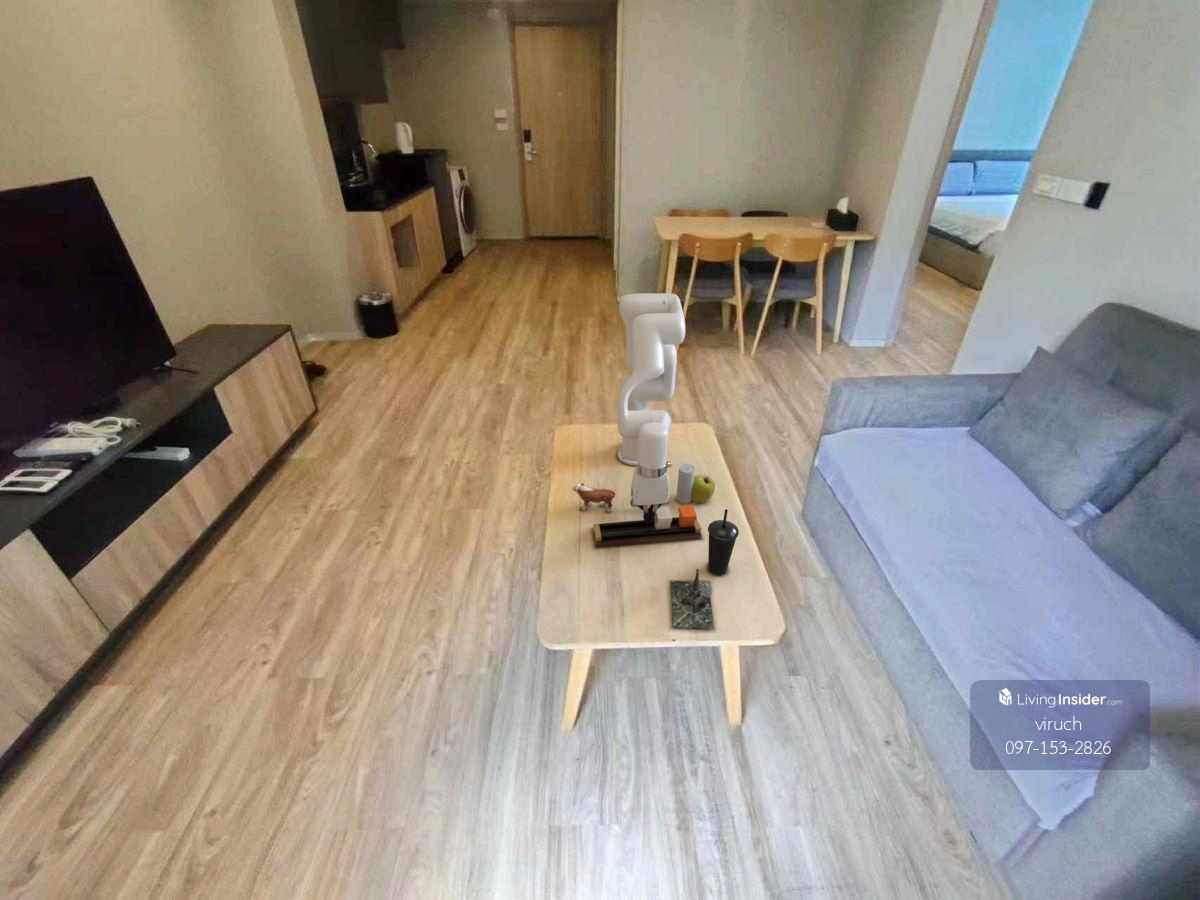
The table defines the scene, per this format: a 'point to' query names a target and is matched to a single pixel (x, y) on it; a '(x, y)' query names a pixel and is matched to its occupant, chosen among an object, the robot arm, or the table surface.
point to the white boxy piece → (662, 518)
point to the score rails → (647, 533)
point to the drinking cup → (721, 544)
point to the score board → (643, 539)
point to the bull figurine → (594, 495)
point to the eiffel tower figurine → (691, 604)
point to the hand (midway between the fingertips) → (648, 520)
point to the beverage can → (685, 483)
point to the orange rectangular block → (686, 516)
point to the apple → (702, 488)
